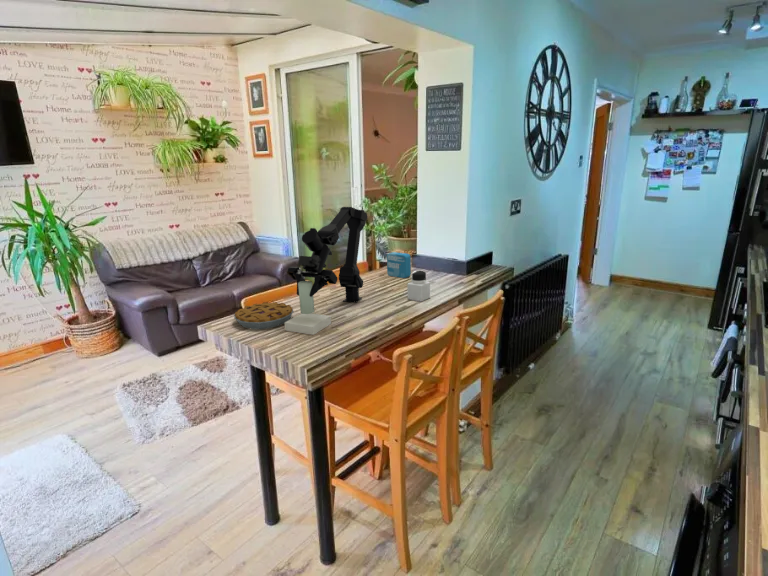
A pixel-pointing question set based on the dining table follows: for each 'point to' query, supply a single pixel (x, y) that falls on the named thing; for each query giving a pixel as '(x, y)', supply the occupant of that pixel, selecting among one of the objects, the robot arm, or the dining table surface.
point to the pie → (264, 315)
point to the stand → (308, 323)
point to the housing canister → (306, 297)
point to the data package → (398, 265)
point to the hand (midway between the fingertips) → (304, 295)
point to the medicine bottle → (418, 287)
